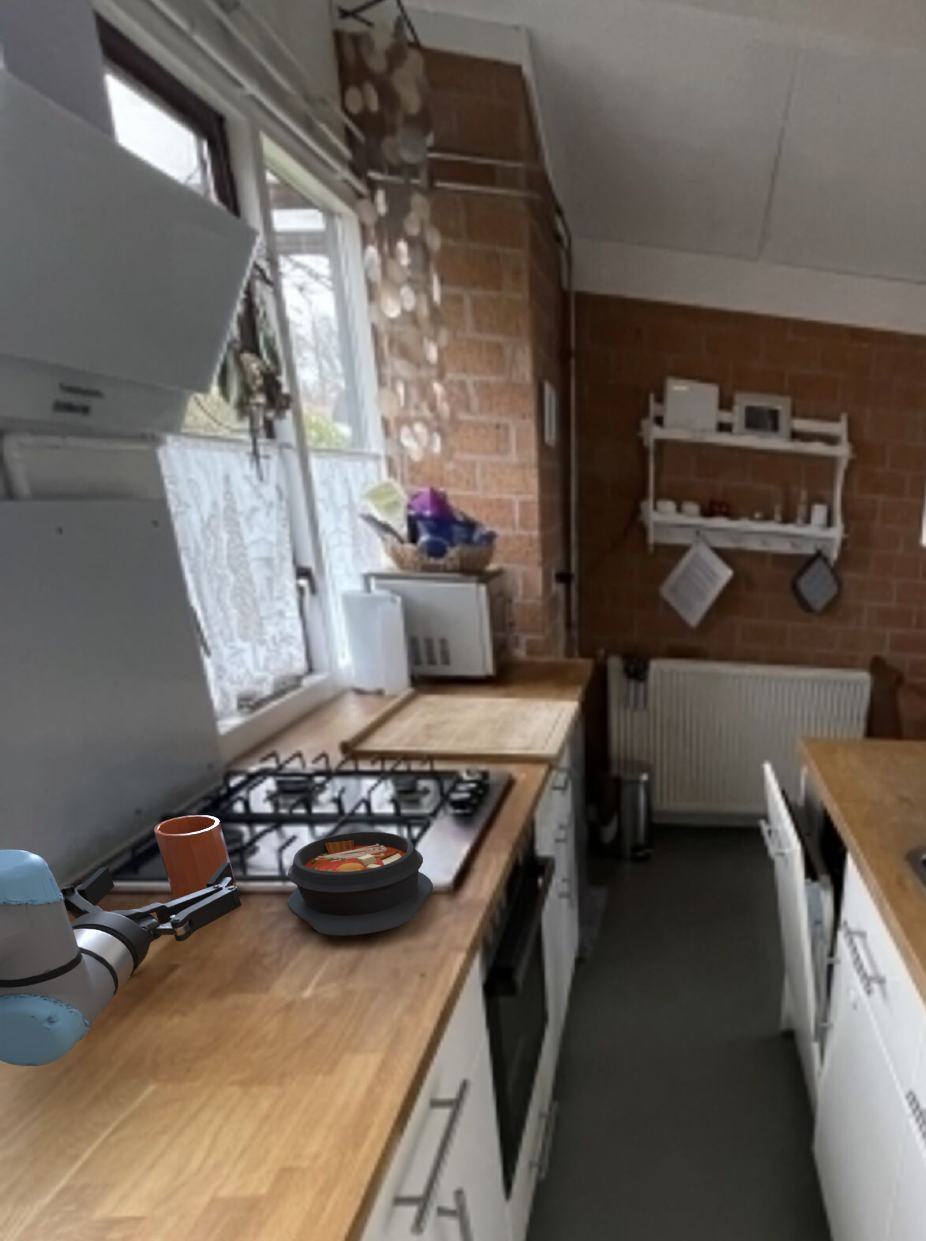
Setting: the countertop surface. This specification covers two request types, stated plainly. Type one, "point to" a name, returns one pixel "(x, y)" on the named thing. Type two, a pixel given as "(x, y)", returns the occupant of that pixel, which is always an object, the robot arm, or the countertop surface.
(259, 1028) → the countertop surface
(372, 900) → the casserole
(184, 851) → the tumbler
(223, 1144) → the countertop surface
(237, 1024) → the countertop surface
